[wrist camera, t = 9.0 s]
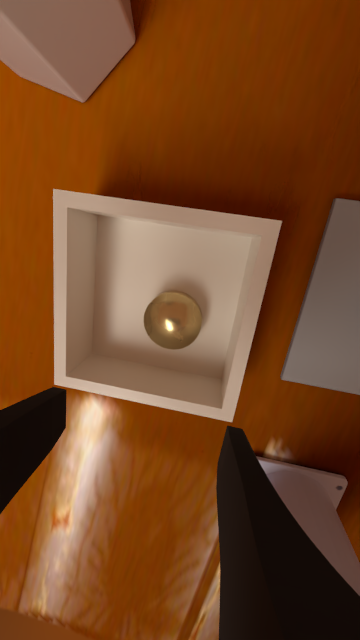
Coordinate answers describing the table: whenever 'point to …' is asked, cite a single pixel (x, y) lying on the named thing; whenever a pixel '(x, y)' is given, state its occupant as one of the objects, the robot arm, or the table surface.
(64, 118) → the table surface
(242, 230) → the box
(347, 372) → the lid
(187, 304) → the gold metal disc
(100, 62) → the jar
